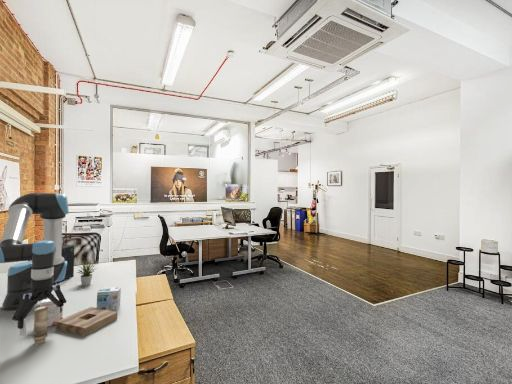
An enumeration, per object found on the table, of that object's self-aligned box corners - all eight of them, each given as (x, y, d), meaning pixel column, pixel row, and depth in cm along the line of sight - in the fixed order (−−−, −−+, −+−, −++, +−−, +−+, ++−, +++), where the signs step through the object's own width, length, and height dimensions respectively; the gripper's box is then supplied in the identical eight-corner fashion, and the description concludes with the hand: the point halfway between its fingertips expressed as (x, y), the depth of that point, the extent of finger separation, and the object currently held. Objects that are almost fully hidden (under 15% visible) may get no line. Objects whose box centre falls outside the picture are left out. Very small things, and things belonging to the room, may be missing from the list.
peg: (30, 343, 113) (31, 310, 113) (42, 338, 117) (43, 306, 117) (38, 345, 111) (39, 311, 111) (49, 340, 115) (50, 307, 116)
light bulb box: (95, 312, 144) (96, 292, 144) (99, 307, 150) (100, 288, 151) (117, 310, 147) (118, 290, 147) (120, 305, 153) (121, 286, 153)
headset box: (51, 286, 183) (52, 248, 184) (34, 285, 184) (35, 247, 184) (74, 276, 206) (75, 242, 206) (59, 276, 206) (60, 242, 207)
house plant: (104, 281, 195) (105, 259, 195) (90, 287, 181) (91, 263, 181) (86, 280, 196) (86, 258, 197) (71, 286, 182) (72, 262, 183)
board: (55, 329, 125) (55, 321, 125) (90, 313, 142) (90, 306, 142) (84, 336, 119) (85, 328, 120) (117, 318, 137) (117, 311, 137)
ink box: (62, 319, 134) (63, 296, 135) (62, 323, 130) (63, 299, 131) (40, 324, 130) (41, 299, 130) (39, 328, 126) (40, 302, 126)
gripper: (14, 287, 102) (12, 344, 101) (76, 271, 125) (74, 317, 125) (1, 285, 104) (-1, 341, 103) (64, 269, 128) (63, 314, 127)
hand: (40, 328), depth 114 cm, fingers open, 13 cm apart
